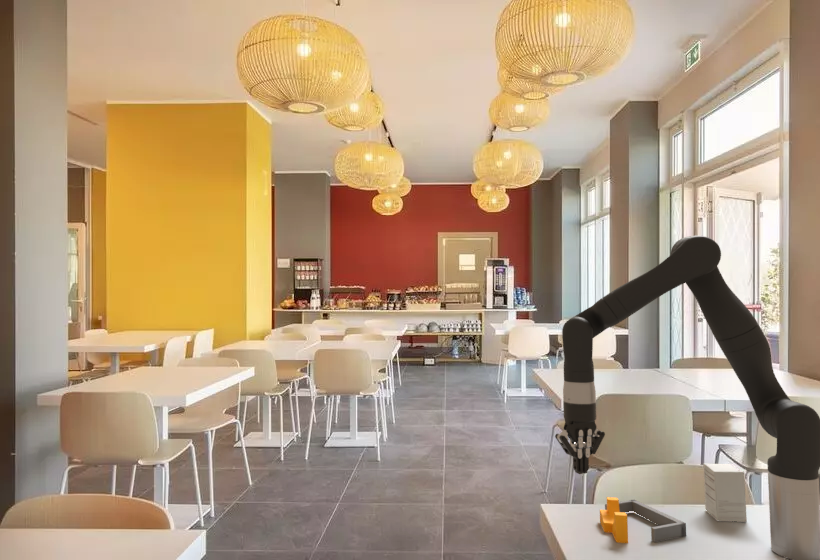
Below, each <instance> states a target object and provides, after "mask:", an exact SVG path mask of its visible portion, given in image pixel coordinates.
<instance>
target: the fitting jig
mask: <svg viewBox="0 0 820 560" xmlns="http://www.w3.org/2000/svg"><path fill="white" fill-rule="evenodd" d="M604 510H607V503H604ZM619 510H620V512H629V511H634V512H636V513H637V514H639V515H641V516H643V517H645V518H646V519H649V520H650V521H652V522H654V523H656V524H658V525H659V526H658V525H656V524H655V525H656V526H652V527H650V531H651V535H650V536H651V538H650V539H651V542H653V543H657V542H662V541H667V540H672V539H673V540H674V539H678V538H683V537H686V536H687V523H686V522H684V521H682V520H680V519H678V518H675V517H674V516H671V515H669V514H667V513H666V512H665V513H664V512H663V511H660V510H658V509H656V508H654V507H652V506H649V505H647V504H645V503H643V502H640V501H638V500H636V499H629V500H623V501H619ZM646 519H645V520H646ZM650 521H649V522H650ZM652 522H651V523H652ZM654 523H653V524H654Z"/></svg>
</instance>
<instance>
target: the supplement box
mask: <svg viewBox="0 0 820 560" xmlns="http://www.w3.org/2000/svg"><path fill="white" fill-rule="evenodd" d="M745 479H746V477H745V472H744V471H743V470H742V469H740V468H738V467H737V466H735V465H734V464H732V463H703V480H704V482H703V483H704V486H703V487H704V507H705V509H706V510H707V511H708V512H709V513H710V514H711V515H712V516H713V517H714V518H715V519H716V520H719V521H718V522H732V521H733V522H734V521H737V523H738V522H739V523H741V522H742V523H747V522H748V521H747V519H748V518H747V501H746V496H747V495H746V480H745ZM706 510H705V511H706ZM707 511H706V512H707ZM708 512H707V513H708ZM709 513H708V514H709ZM710 514H709V515H710ZM711 515H710V516H711ZM712 516H711V517H712ZM713 517H712V518H713ZM714 518H713V519H714ZM715 519H714V520H715ZM716 520H715V521H716Z"/></svg>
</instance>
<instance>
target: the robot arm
mask: <svg viewBox="0 0 820 560" xmlns="http://www.w3.org/2000/svg"><path fill="white" fill-rule="evenodd" d="M721 258H722V250H721V247H720V245H719V244H718V243H717V242H716V241H715V240H714V239H713V238H710V237H708V236H704V235H691V236H685V237H682V238H679V240H677V241H675V242H674V244H673V245H672V247H671V250H670V255H669V256H668V257H666V258H665V259H664V260H662V261H661V262H660V263H659V264H658V265H656V266H655V267H653V268H651V269H650V270H648V271H647V272H645V273H643V274H641V275H639V276H636V277H635V278H633V279H631V280H629V281H627V282H626V283H624V284H622V285H620V286H619V287H617V288H615V289H614V290H612V291H610V292H608V294H606V295H604V296H603V297H602V298H600V299H598V300H597V301H596V302H595V303H594V304H593V305H592V306H590V307H588V308H586V309H584V310H583V311H581V312H580V313H579V312H578V314H576V315H575V316H573V317H570V318H569V319H567V321H565V323H563V325H562V330H561V338H562V350H563V351H562V352H563V357H564V359H563V386H562V395H563V396H562V398H563V401H562V403H563V405H562V406H563V418H564V419H563V420H564V425H563V430H562V431H561V432H560V433H556V434H555V436H554V437H555V439H556V441H557V442H558V444H559V445H560V447H561V448H562V450H563V451H564V452H565V454H566V455H568V456H571V457H572V462H573V463H572V464H573V465H572V466H573V467H572V468H573V471H574V472H575V474H579V475H583V474H588V471H589V470H590V464H589V461H590V460H589V458H590V457H591V455H596V453H597V451H598V450H599V447H600V445H601V444H602V441H603V439H604V438H605V435H606V433H605V432H604V431H602V430H601V429H598V426H597V423H596V420H597V397H596V396H597V395H596V394H597V393H596V385H595V368H594V367H595V366H594V361H593V352H594V349H593V348H594V346H593V345H594V344H593V343H594V340H593V339H594V338H595V337H597V336H599V334H601V333H603V332H604V331H606V330H607V329H608V328H612V327H614V326H616V325H618V324H619V323H620V322H623V321H624V320H626V319H628V318H630V316H632V315H634V314H636V313H637V312H638V311H640V310H642V309H643V308H644V307H646V306H647V305H649V304H650V303H652V302H653V301H655V300H656V299H658V298H660V297H661V296H663V295H664V294H667V293H668V292H670V291H672V290H673V289H676V288H677V287H680V286H681V285H684V284H686V286H687V287H688V289H689V290H690V291H691V293H692V295H693V296H694V297H695V298H694V299H695V300H696V302H697V304H698V306H699V308H700V310H701V312H702V314H703V317H704V319H705V321H706V323H707V325H708V327H709V329H710V331H711V333H712V335H713V336H714V339H715V340H716V343H717V345H718V346H719V347H720V350H721V351H722V353H723V355H724V356H725V358H726V359H727V361H728V363H729V365H730V366H731V368H732V370H733V371H734V373H735V375H736V377H737V378H738V380H739V382H740V383H741V385H742V387H743V388H744V390H745V393H746V395H747V397H748V400H749V401H750V403H751V407H752V409H753V411H754V413H755V415H756V418H757V420H758V422H759V425H760V426H761V428H762V429H763V430H764V431H765V433H767V434H768V435H770V436H771V437H772V438H774V439H776V453H775V455H772V456H770V457H769V458H767V483H768V484H767V485H768V505H769V506H768V507H769V529H770V530H769V531H770V549H771V550H772V551H773V553H775V554H776V555H779V556H780V557H782V558H786V559H788V560H820V485H819V484H820V482H819V481H820V479H819V470H820V416H819V413H818V412H817V411H816V410H815V409H814V408H812V406H811V407H810V406H809V405H807V404H805V403H801V402H797V401H795V400H792V399H790V397H789V396H788V394H787V393H786V392H785V391H784V389H783V387H782V385H781V384H780V382H779V381H778V379H777V377H776V375H775V373H774V368H773V362H772V360H773V358H772V351H771V348H770V344H769V341H768V339H767V337H766V335H765V334H764V331H763V329H762V328H761V327H760V324H759V323H758V321H757V320H756V318H755V316H754V314H752V312H751V311H750V310H749V309H748V307H747V306H746V305H745V303H743V301H742V300H740V298H739V297H738V296H737V295H736V294H735V293H734V291H733V290H732V289H731V288H730V286H729V285H728V284H727V282H726V280H725V279H724V277H723V276H722V274H721V273H722V272H721V271H720V269H719V267H718V265H719V263H720V262H721Z"/></svg>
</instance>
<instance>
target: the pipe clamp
mask: <svg viewBox="0 0 820 560" xmlns="http://www.w3.org/2000/svg"><path fill="white" fill-rule="evenodd" d="M619 502H620V501H619V498H618V497H611V496H610V497H609V496H607V497H606V504H607V510H605V509H599V523H600V522H601V523H600V526H601V527H603V528H602V530H603V532H604V533H608V534H609V533H611V534H612V536H613V538H614V540H615V542H616V543H619V544H629V528H628V527H629V526H628V524H629V523H628V522H629V521H628V514H626V513H625V512H620V510H619Z"/></svg>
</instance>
